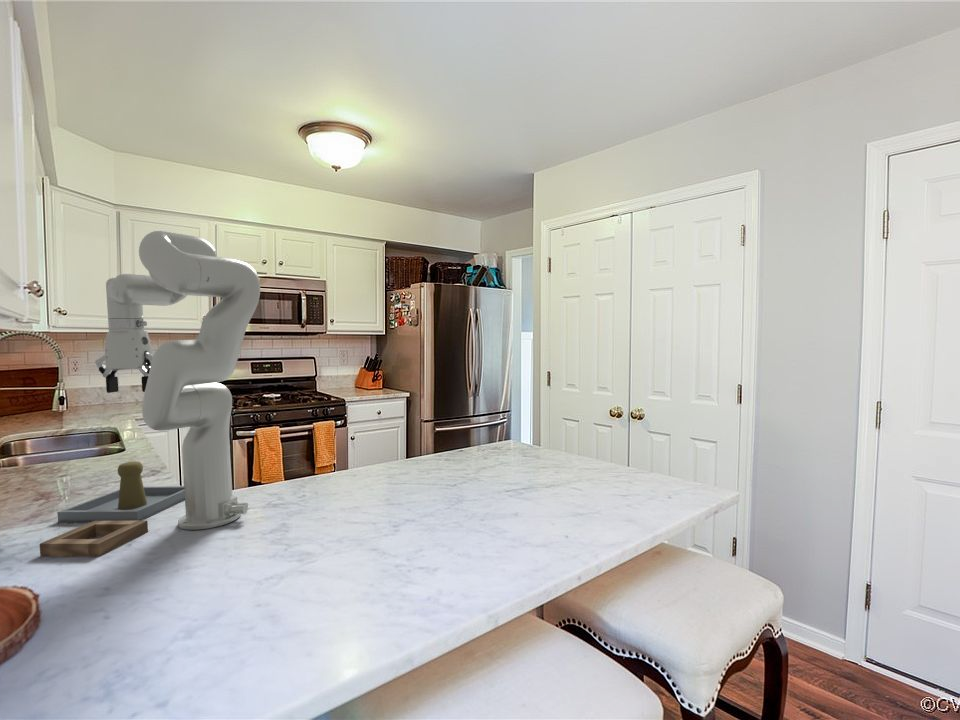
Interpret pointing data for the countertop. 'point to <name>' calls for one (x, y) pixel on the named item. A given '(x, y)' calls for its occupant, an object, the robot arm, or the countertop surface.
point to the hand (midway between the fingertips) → (130, 391)
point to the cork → (131, 486)
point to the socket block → (82, 545)
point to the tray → (108, 510)
